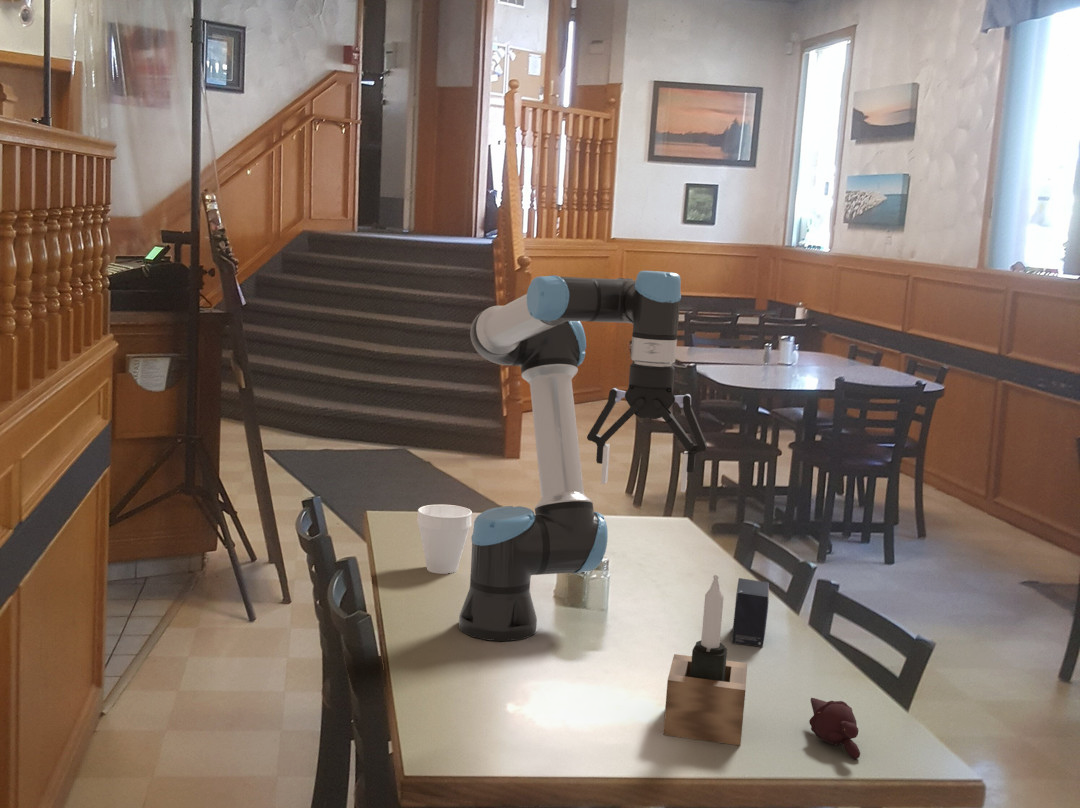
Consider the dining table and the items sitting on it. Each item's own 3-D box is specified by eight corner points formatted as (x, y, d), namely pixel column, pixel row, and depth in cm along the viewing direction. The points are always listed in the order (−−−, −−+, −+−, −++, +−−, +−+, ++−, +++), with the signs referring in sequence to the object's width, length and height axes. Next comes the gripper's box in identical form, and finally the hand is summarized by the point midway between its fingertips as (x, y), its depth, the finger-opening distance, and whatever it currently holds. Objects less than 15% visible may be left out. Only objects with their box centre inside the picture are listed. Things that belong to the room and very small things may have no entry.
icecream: (788, 686, 191) (831, 732, 177) (830, 674, 192) (876, 719, 178) (793, 723, 193) (836, 772, 179) (834, 711, 194) (880, 758, 180)
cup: (479, 569, 268) (483, 510, 266) (447, 580, 257) (450, 520, 255) (437, 558, 274) (439, 501, 272) (403, 569, 264) (406, 510, 262)
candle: (721, 721, 191) (734, 572, 187) (716, 733, 186) (729, 581, 182) (690, 716, 192) (703, 568, 188) (684, 728, 187) (697, 576, 184)
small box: (764, 648, 227) (769, 596, 225) (730, 644, 228) (735, 592, 227) (765, 631, 237) (770, 580, 236) (732, 627, 238) (737, 577, 237)
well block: (663, 734, 184) (667, 680, 183) (669, 705, 196) (674, 654, 195) (740, 745, 182) (745, 690, 181) (742, 715, 194) (747, 663, 192)
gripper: (576, 359, 197) (567, 483, 200) (726, 371, 192) (715, 498, 195) (583, 355, 204) (575, 475, 207) (728, 367, 199) (717, 489, 202)
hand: (643, 486), depth 201 cm, fingers open, 13 cm apart
